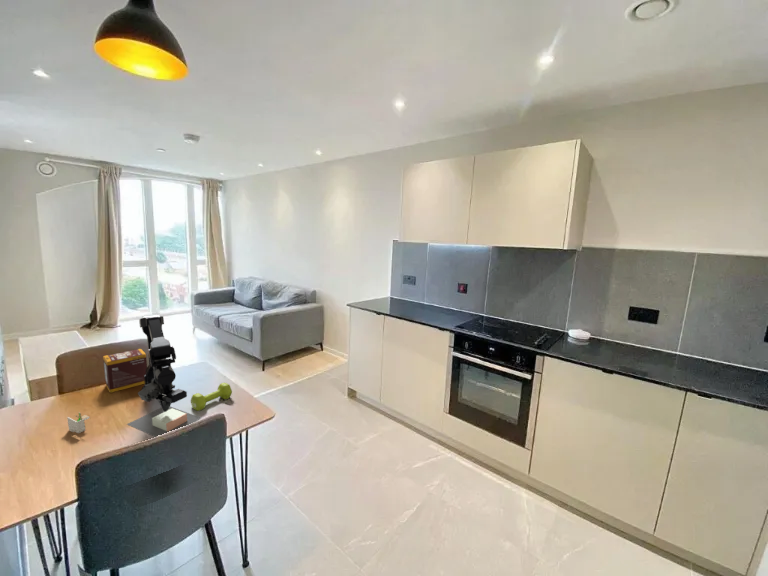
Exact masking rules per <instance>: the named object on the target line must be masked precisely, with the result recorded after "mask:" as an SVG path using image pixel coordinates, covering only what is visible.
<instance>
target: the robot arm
mask: <svg viewBox="0 0 768 576" xmlns="http://www.w3.org/2000/svg"><path fill="white" fill-rule="evenodd" d="M163 325H165V321H164V315H163V316H161V315H160V314H153V315H146V316H145V315H144V316H142V317H141V318H140V319H139V327H140V328H141V330H142V333H143V334H145V336H146V339H147V340H146V341H147V342H146V343H147V354H148V364H147V369H146V375H144V384H143V386H142V388H141V390H140V391H138V392H137V395H138V397H139V398H140V399H141V400H142V401H144V402H146V403H147V402H151V401H152V400H155V399H156V400H157V401H158V403H159V405H160V408H162V409H163V411H164V412H166V411H168V409H169V407H171V405H172V404H174V403H177V402H178V401H181V400H183V399H185V398H187V396H188V391H186V390H184V389H180V388H177V389H175V388H176V385H175V384H173V382H174V381H175V380H176V373H175V371H174V369H173V367H172V364H174V363H175V364H176V359H177V355H176V351H175V347H174V346H173V345H171V343H170V340H169V339H166V338H165V336H164V331H163Z"/></svg>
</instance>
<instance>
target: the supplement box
mask: <svg viewBox="0 0 768 576" xmlns="http://www.w3.org/2000/svg"><path fill="white" fill-rule="evenodd" d="M102 361H103V369H104V379H105V386H106V388H107V390H108V392H109V393H110V394H111V393H115V392H119V391H122V390H126V389H129V388H133V387H138V386H141V385H144V375H146V369H147V367H148V363H147V362H148V361H147V354H146V352H145V351H143V349H142V348H136V349H132V350H126V351H122V352H118V353H117V352H116V353H113V354H112V353H111V354H107V355H103V356H102Z"/></svg>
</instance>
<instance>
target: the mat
mask: <svg viewBox="0 0 768 576" xmlns="http://www.w3.org/2000/svg"><path fill="white" fill-rule="evenodd" d="M172 408H173V409H175V410H178V411H181V412H184V413H186V414H187V421H186V422H184V423H182V424H181V425H179V426H177V427H175V428H173V429H172V430H175V429H178V428H180V427H183V426H186V425H189V424H191V423H192V424H194V423H196V422H197V421H199V420H202V417H200V416H198V415H196V414H192V413H190V412H187V411H184V410H182V409H178V408H175V407H174V406H173V407H172V406H170V407H169V409H168V410H170V409H172ZM163 412H164V411H163V409H162V407H160V408H158V409H156V410H154V411H152V412H149V413H147V414H145V415H143V416H141V417H139V418H136V419H135V420H133V421H130V422H129V423H127V424H126V425H128V426H130V427H131V428H134V429H136V430H139V431H141V432H143V433H146V434H148V435H151V436H153V437H155V438H157V437H156V436H158V435H162V434H164V433H167V432H169V431H165V430H163V429H160V428H158V427H155V426H153V423H152V418H153V417H155V416H157V415H159V414H161V413H163ZM193 422H194V423H193ZM192 424H191V425H192ZM189 426H190V425H189ZM172 430H170V431H172Z"/></svg>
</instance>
